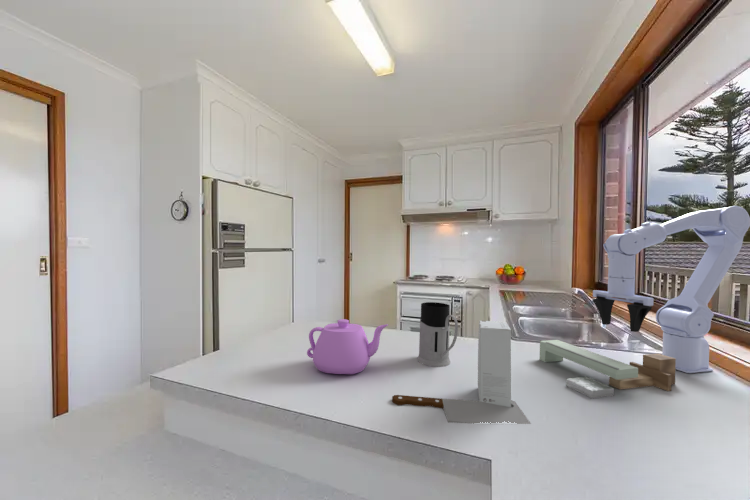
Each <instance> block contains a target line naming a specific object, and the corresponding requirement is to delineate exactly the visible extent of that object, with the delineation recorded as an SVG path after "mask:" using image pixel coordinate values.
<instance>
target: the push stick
mask: <svg viewBox="0 0 750 500" xmlns="http://www.w3.org/2000/svg"><path fill="white" fill-rule="evenodd" d="M629 365H631V366H634V367H637V368H638V377H636V378H626V379H614V378H612V377H609V376H608V379H609V380H608V386H610V387H612V388H614V389H615V388H616V389H618V390H626V389H636V388H644V387H656V388H659V389H662V390H664V391H667V392H671V391H672V386H673V385H676V369H675V365H676V358H672V357H669V356H665V355H662V354H661V353H650V354H642V364H640V363H637V362H634V361H629Z"/></svg>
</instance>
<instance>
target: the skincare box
mask: <svg viewBox="0 0 750 500" xmlns="http://www.w3.org/2000/svg"><path fill="white" fill-rule="evenodd" d="M511 335H512V329H511V327H510V326H509V324H508V322H506V321H497V320H496V321H493V320H478V338H477V339H478V340H477V341H478V343H477V347H478V349H477V390H478V391H477V392H478V399H479V401H481V402H486V403H491V404H495V405H501V406H506V407H511V400H512V352H511V351H512V346H511V345H512V340H511V339H512V338H511V337H512V336H511Z"/></svg>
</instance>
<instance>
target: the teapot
mask: <svg viewBox="0 0 750 500" xmlns="http://www.w3.org/2000/svg"><path fill="white" fill-rule="evenodd" d="M336 321H337V322H335V323H333V322H332V323H328V324H327V325H325V326H324V327H322V326H316V327H314V328H312V329H311V330H310V331H309V333H308V342H309V343H310V347H309V348H308V349H307V351H306V355H307V357H308V358H310V359H312V363H313V365H314V366H315V368H316V369H317V370H318V371H320V372H322V373H325V374H334V375H335V374H336V375H351V376H353V375H355V374H358V373H361V372H362V371H364V370H365V369H366V367H367V366H368V364H369V362H370V359H371V357H372V356H374V355H375V354H376V353H377V352H378V350H379V345H380V339H381V335H382V334H381V333H382V331H383V330H384V329H385V328H386V327H388V326H389V324H387V323H386V324H381V325H378V326H376V328H375V329H374V333H373V338H372V341H371V342H370V343H369V339H368V337H367V335H366V334H367V333H366V332H365V330H364V328H363V326H362V325H361V324H356V323H350V322H349V321H350V320H348V319H346V318H343V319H341V318H340V319H338V320H336ZM315 332H320V334H319V336H318V338H317V340H316V342H315V339H314V333H315ZM311 351H312V352H311Z"/></svg>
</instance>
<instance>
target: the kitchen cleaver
mask: <svg viewBox="0 0 750 500" xmlns="http://www.w3.org/2000/svg"><path fill="white" fill-rule="evenodd" d="M391 400H392V403H393V404H395V405H396V406H404V405H407V406H408V405H409V406H410V405H411V406H415V407H416V406H418V407H433V408H437V409H443V411H444V415H445V417H446V420H447V423H452V424H453V423H454V424H472V423H473V424H474V423H480V422H481V423H482V422H483V423H485V422H486V423H487V422H488V423H490V422H491V423H496V422H497V423H498V422H499V423H502V422H504V421H505V422H507V423H509V422H511V423H514V422H515V423H517V424H516V425H531V424H532V423H531V422H530V421H529V419H528V418H527V416H526V415H525V414H524V412H523V410H522V409H521V408H520V406H519V405H518V403H517V402H516V400H513V399H511V407H506V406H501V405H495V404H491V403H486V402H481V401H480V400H473V399H472V400H469V399H466V400H465V399H453V398H452V399H451V398H441V397H440V398H437V397H426V396H424V397H423V396H416V395H404V394H402V395H401V394H394V395H392V397H391ZM508 421H509V422H508ZM491 423H490V424H489V425H492V424H491Z"/></svg>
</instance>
